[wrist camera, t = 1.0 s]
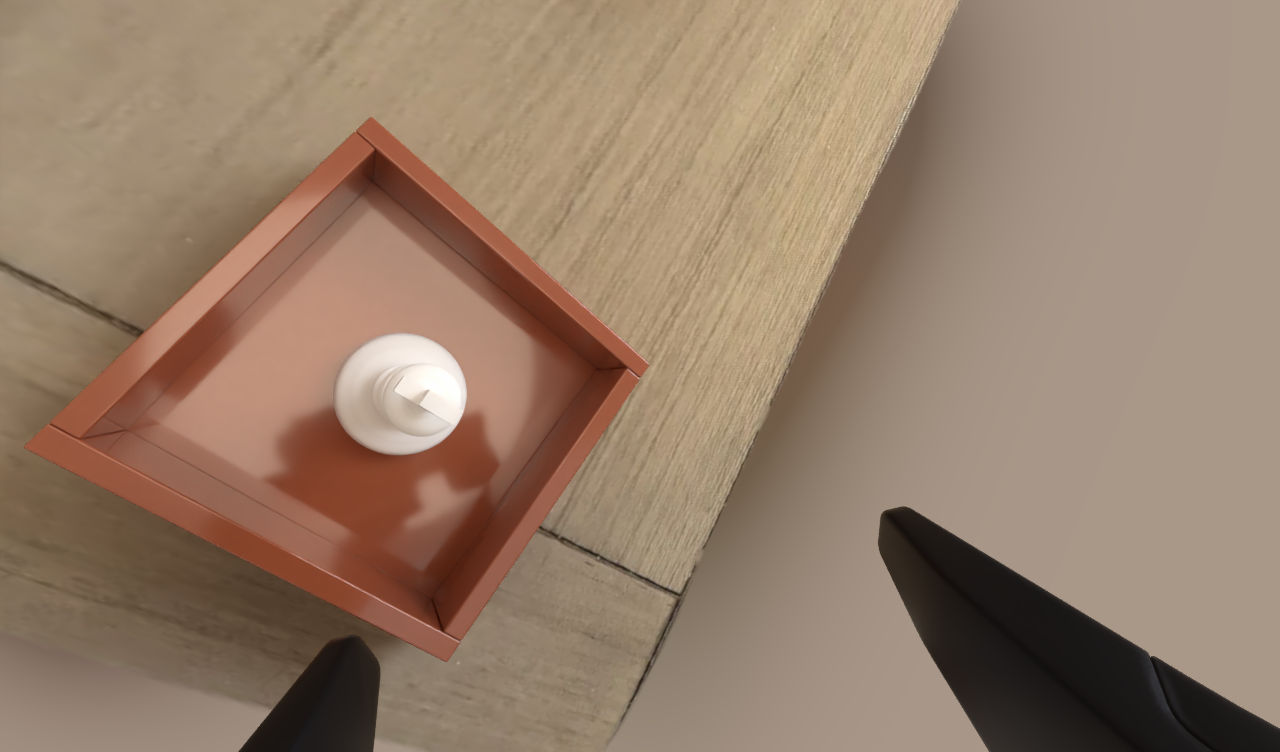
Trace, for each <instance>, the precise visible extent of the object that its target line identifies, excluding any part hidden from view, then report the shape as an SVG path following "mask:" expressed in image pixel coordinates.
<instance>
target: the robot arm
mask: <svg viewBox="0 0 1280 752" xmlns="http://www.w3.org/2000/svg"><path fill="white" fill-rule="evenodd" d="M878 546H879V551H880V554H881V556H882V559H883V560H884V563H885V565H886V567H887V569H888V571H889V573H890V575H891V577H892V579H893V582H894V583H895V586H896V588H897V590H898V592H899V594H900V596H901V598H902V600H903V602H904V605H905V607H906V609H907V611H908V613H909V615H910V617H911V619H912V621H913V623H914V626H915V628H916V630H917V632H918V633H919V635H920V637H921V639H922V641H923V643H924V645H925V647H926V648H927V650H928V652H929V653H930V655H931V657H932V658H933V660H934V662H935V663H936V665H937V667H938V668H939V670H940V672H941V673H942V675H943V677H944V678H945V680H946V681H947V683H948V685H949V686H950V688H951V690H952V691H953V693H954V695H955V696H956V698H957V699H958V701H959V703H960V705H961V706H962V708H963V709H964V711H965V713H966V714H967V716H968V718H969V719H970V721H971V723H972V724H973V726H974V727H975V729H976V731H977V732H978V734H979V736H980V737H981V739H982V741H983V742H984V744H985V746H986V747H987V749H988V750H989V752H1280V728H1278V727H1276V726H1274V725H1272V724H1270V723H1269V722H1267V721H1265V720H1263V719H1261V718H1260V717H1258V716H1256V715H1254V714H1252V713H1250V712H1249V711H1247V710H1245V709H1243V708H1241V707H1239V706H1237V705H1236V704H1234V703H1233V702H1231V701H1229V700H1227V699H1226V698H1224V697H1222V696H1221V695H1219V694H1217V693H1216V692H1214V691H1212V690H1210V689H1209V688H1207V687H1205V686H1204V685H1202V684H1200V683H1198V682H1197V681H1195V680H1193V679H1192V678H1190V677H1188V676H1187V675H1185V674H1183V673H1182V672H1180V671H1178V670H1177V669H1175V668H1173V667H1172V666H1170V665H1168V664H1167V663H1165V662H1163V661H1162V660H1160V659H1158V658H1157V657H1155V656H1151V657H1150V656H1149V654H1148V652H1146V651H1145V650H1143V649H1142V648H1140V647H1138V646H1137V645H1135V644H1133V643H1132V642H1130V641H1128V640H1127V639H1125V638H1123V637H1122V636H1120V635H1118V634H1117V633H1115V632H1113V631H1112V630H1110V629H1109V628H1107V627H1105V626H1103V625H1102V624H1100V623H1099V622H1097V621H1095V620H1094V619H1092V618H1091V617H1089V616H1087V615H1086V614H1084V613H1082V612H1081V611H1079V610H1077V609H1076V608H1074V607H1072V606H1071V605H1069V604H1067V603H1066V602H1064V601H1063V600H1061V599H1059V598H1057V597H1056V596H1054V595H1053V594H1051V593H1049V592H1048V591H1046V590H1044V589H1043V588H1041V587H1039V586H1038V585H1036V584H1035V583H1033V582H1031V581H1030V580H1028V579H1026V578H1025V577H1023V576H1021V575H1020V574H1018V573H1016V572H1015V571H1013V570H1011V569H1010V568H1008V567H1006V566H1005V565H1003V564H1001V563H1000V562H998V561H997V560H995V559H993V558H991V557H990V556H988V555H987V554H985V553H983V552H982V551H980V550H978V549H977V548H975V547H973V546H972V545H970V544H968V543H967V542H965V541H963V540H962V539H960V538H959V537H957V536H955V535H954V534H952V533H950V532H949V531H947V530H945V529H943V528H942V527H940V526H939V525H937V524H935V523H934V522H932V521H930V520H929V519H927V518H926V517H924V516H922V515H921V514H919V513H917V512H915V511H914V510H912V509H911V508H908V507H898V508H894V509H889V510H886V511H884V512H883V513H882V514H881V518H880V529H879V539H878ZM379 685H380V665H379V662H378V660H377V658H376V657H375V656H374V654H373V653H372V652H371V650H370V649H369V648H368V647H367V645H366V644H365V643H364V641H363V640H362V639H361V638H360V637H359V636H357V635H349V636H345V637H341V638H336V639H333V640H331V641H330V642H329V643H327V644H326V645H325V646H324V648H323V649H322V650H321V651H320V652H319V654H318V655H317V656H316V657H315V659H314V660H313V661H312V662H311V663H310V665H309V666H308V667H307V668H306V670H305V671H304V672H303V673H302V675H301V676H300V677H299V678H298V679H297V681H296V682H295V683H294V684H293V686H292V687H291V688H290V689H289V690H288V692H287V693H286V694H285V695H284V697H283V698H282V699H281V700H280V701H279V703H278V704H277V705H276V706H275V708H274V709H273V710H272V711H271V712H270V714H269V715H268V716H267V717H266V719H265V720H264V721H263V722H262V723H261V725H260V726H259V727H258V728H257V730H256V731H255V732H254V733H253V735H252V736H251V737H250V738H249V739H248V741H247V742H246V743H245V744H244V746H243V747H242V748H241V749H240V750H239V752H373V748H374V738H375V727H376V717H377V706H378V696H379Z"/></svg>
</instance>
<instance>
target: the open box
mask: <svg viewBox="0 0 1280 752" xmlns="http://www.w3.org/2000/svg"><path fill="white" fill-rule="evenodd" d="M392 333H409V334H415V335H420V336H423V337H426V338H428V339H430V340H433V341H434V342H436V343H438V344H439V345H441V346H442V347H444V348H445V349H446V350H447V351H448V352H449V353H450V354H451V355H452V356H453V357H454V359H455V360H456V361H457V363H458V364H459V366H460V368H461V370H462V372H463V375H464V378H465V382H466V389H467V398H466V405H465V409H464V412H463V415H462V417H461V419H460V421H459V423H458V424H457V426H456V427H455V429H454V430H453V431H452V432H451V433H450V434H449V435H448V436H447V437H446V438H445V439H444V440H443V441H441V442H440V443H439V444H437V445H435V446H434V447H432V448H430V449H427V450H425V451H422V452H419V453H415V454H410V455H388V454H382V453H379V452H375V451H373V450H370V449H368V448H366V447H364V446H362V445H361V444H359V443H358V442H357V441H355V440H354V439H353V438H352V437H351V436H350V435H349V434H348V433H347V432H346V431H345V429H344V428H343V427H342V425H341V423H340V422H339V420H338V417H337V415H336V412H335V409H334V404H333V386H334V381H335V378H336V375H337V372H338V370H339V368H340V366H341V365H342V363H343V362H344V360H345V359H346V358H347V357H348V355H349V354H350V353H351V352H352V351H353V350H355V349H356V348H357V347H358V346H360V345H361V344H363V343H365V342H366V341H368V340H370V339H373V338H375V337H378V336H381V335H386V334H392ZM648 366H649V363H648V362H647V361H646V360H645V359H644V358H643V357H641V356H640V355H639V354H638V353H637V352H636V351H635V350H634V349H632V348H631V347H630V346H629V345H628V344H627V343H626V342H625V341H623V340H622V339H621V338H620V337H619V336H618V335H617V334H616V333H614V332H613V331H612V330H611V329H610V328H609V327H608V326H607V325H605V324H604V323H603V322H602V321H601V320H600V319H599V318H598V317H596V316H595V315H594V314H593V313H592V312H591V311H590V310H589V309H587V308H586V307H585V306H584V305H583V304H582V303H581V302H580V301H578V300H577V299H576V298H575V297H574V296H573V295H572V294H571V293H569V292H568V291H567V290H566V289H565V288H564V287H563V286H562V285H560V284H559V283H558V282H557V281H556V280H555V279H554V278H553V277H551V276H550V275H549V274H548V273H547V272H546V271H545V270H544V269H542V268H541V267H540V266H539V265H538V264H537V263H536V262H535V261H533V260H532V259H531V258H530V257H529V256H528V255H527V254H526V253H524V252H523V251H522V250H521V249H520V248H519V247H518V246H517V245H515V244H514V243H513V242H512V241H511V240H510V239H509V238H508V237H506V236H505V235H504V234H503V233H502V232H501V231H500V230H499V229H497V228H496V227H495V226H494V225H493V224H492V223H491V222H490V221H488V220H487V219H486V218H485V217H484V216H483V215H482V214H481V213H479V212H478V211H477V210H476V209H475V208H474V207H473V206H472V205H470V204H469V203H468V202H467V201H466V200H465V199H464V198H463V197H461V196H460V195H459V194H458V193H457V192H456V191H455V190H454V189H452V188H451V187H450V186H449V185H448V184H447V183H446V182H445V181H443V180H442V179H441V178H440V177H439V176H438V175H437V174H436V173H434V172H433V171H432V170H431V169H430V168H429V167H428V166H427V165H425V164H424V163H423V162H422V161H421V160H420V159H419V158H418V157H416V156H415V155H414V154H413V153H412V152H411V151H410V150H409V149H407V148H406V147H405V146H404V145H403V144H402V143H401V142H400V141H398V140H397V139H396V138H395V137H394V136H393V135H392V134H391V133H389V132H388V131H387V130H386V129H385V128H384V127H383V126H382V125H380V124H379V123H378V122H377V121H376V120H375V119H374V118H372V117H370V118H368V119H367V120H366V121H365V122H364V123H363V124H362V125H361V126H360V127H359V128H358V129H357V130H356V132H354V133H352V134H351V135H350V136H349V137H348V138H347V139H346V140H345V141H344V142H343V143H342V144H341V145H340V146H339V147H338V148H337V149H336V150H335V151H333V152H332V153H331V154H330V155H329V156H328V157H327V158H326V159H325V160H324V161H323V162H322V163H321V164H320V165H319V166H318V167H317V168H316V169H315V170H314V171H312V172H311V173H310V174H309V175H308V176H307V177H306V178H305V179H304V180H303V181H302V182H301V183H300V184H299V185H298V186H297V187H296V188H295V189H294V190H293V191H291V192H290V193H289V194H288V195H287V196H286V197H285V198H284V199H283V200H282V201H281V202H280V203H279V204H278V205H277V206H276V207H275V208H274V209H273V210H272V211H270V212H269V213H268V214H267V215H266V216H265V217H264V218H263V219H262V220H261V221H260V222H259V223H258V224H257V225H256V226H255V227H254V228H253V229H252V230H251V231H249V232H248V233H247V234H246V235H245V236H244V237H243V238H242V239H241V240H240V241H239V242H238V243H237V244H236V245H235V246H234V247H233V248H232V249H231V250H230V251H228V252H227V253H226V254H225V255H224V256H223V257H222V258H221V259H220V260H219V261H218V262H217V263H216V264H215V265H214V266H213V267H212V268H211V269H210V270H209V271H207V272H206V273H205V274H204V275H203V276H202V277H201V278H200V279H199V280H198V281H197V282H196V283H195V284H194V285H193V286H192V287H191V288H190V289H189V290H188V291H186V292H185V293H184V294H183V295H182V296H181V297H180V298H179V299H178V300H177V301H176V302H175V303H174V304H173V305H172V306H171V307H170V308H169V309H168V310H167V311H165V312H164V313H163V314H162V315H161V316H160V317H159V318H158V319H157V320H156V321H155V322H154V323H153V324H152V325H151V326H150V327H149V328H148V329H147V330H146V331H144V332H143V333H142V334H141V335H140V336H139V337H138V338H137V339H136V340H135V341H134V342H133V343H132V344H131V345H130V346H129V347H128V348H127V349H126V350H125V351H123V352H122V353H121V354H120V355H119V356H118V357H117V358H116V359H115V360H114V361H113V362H112V363H111V364H110V365H109V366H108V367H107V368H106V369H105V370H104V371H102V372H101V373H100V374H99V375H98V376H97V377H96V378H95V379H94V380H93V381H92V382H91V383H90V384H89V385H88V386H87V387H86V388H85V389H84V390H83V391H81V392H80V393H79V394H78V395H77V396H76V397H75V398H74V399H73V400H72V401H71V402H70V403H69V404H68V405H67V406H66V407H65V408H64V409H63V410H62V411H60V412H59V413H58V414H57V415H56V416H55V417H54V418H53V419H52V420H51V421H50V423H51V424H47V425H46V426H45V427H43V428H42V429H41V430H40V431H39V432H38V433H37V434H36V435H35V436H34V437H33V438H32V439H31V440H30V441H29V442H28V443H27V444H26V445H25V446H24V448H25V449H27V450H29V451H31V452H33V453H35V454H37V455H39V456H41V457H43V458H45V459H47V460H49V461H50V462H52V463H54V464H56V465H58V466H60V467H62V468H64V469H66V470H68V471H70V472H72V473H74V474H76V475H78V476H80V477H82V478H84V479H86V480H88V481H90V482H92V483H94V484H96V485H98V486H100V487H102V488H104V489H106V490H108V491H110V492H112V493H114V494H116V495H118V496H119V497H121V498H123V499H125V500H127V501H129V502H131V503H133V504H135V505H137V506H139V507H141V508H143V509H145V510H147V511H149V512H151V513H153V514H155V515H157V516H159V517H161V518H163V519H165V520H167V521H169V522H171V523H173V524H175V525H177V526H179V527H181V528H183V529H185V530H187V531H188V532H190V533H192V534H194V535H196V536H198V537H200V538H202V539H204V540H206V541H208V542H210V543H212V544H214V545H216V546H218V547H220V548H222V549H224V550H226V551H228V552H230V553H232V554H234V555H236V556H238V557H240V558H242V559H244V560H246V561H248V562H250V563H252V564H254V565H255V566H257V567H259V568H261V569H263V570H265V571H267V572H269V573H271V574H273V575H275V576H277V577H279V578H281V579H283V580H285V581H287V582H289V583H291V584H293V585H295V586H297V587H299V588H301V589H303V590H305V591H307V592H309V593H311V594H313V595H315V596H317V597H319V598H321V599H323V600H324V601H326V602H328V603H330V604H332V605H334V606H336V607H338V608H340V609H342V610H344V611H346V612H348V613H350V614H352V615H354V616H356V617H358V618H360V619H362V620H364V621H366V622H368V623H370V624H372V625H374V626H376V627H378V628H380V629H382V630H384V631H386V632H388V633H390V634H392V635H393V636H395V637H397V638H399V639H401V640H403V641H405V642H407V643H409V644H411V645H413V646H415V647H417V648H419V649H421V650H423V651H425V652H427V653H429V654H431V655H433V656H435V657H437V658H439V659H441V660H443V661H445V662H447V661H448V660H449V659H450V657H451V656H452V654H453V653H454V651H455V650H456V648H457V647H458V645H459V644H460V641H461V640H462V639H463V638H464V636H465V635H466V633H467V632H468V630H469V629H470V627H471V626H472V624H473V623H474V621H475V620H476V619H477V617H478V616H479V614H480V613H481V611H482V610H483V608H484V607H485V605H486V604H487V602H488V601H489V599H490V598H491V597H492V595H493V594H494V592H495V591H496V589H497V588H498V586H499V585H500V583H501V582H502V580H503V579H504V577H505V576H506V575H507V573H508V572H509V570H510V569H511V567H512V566H513V564H514V563H515V561H516V560H517V558H518V557H519V555H520V554H521V553H522V551H523V550H524V548H525V547H526V545H527V544H528V542H529V541H530V539H531V538H532V536H533V535H534V533H535V532H536V531H537V529H538V528H539V526H540V525H541V523H542V522H543V520H544V519H545V517H546V516H547V514H548V513H549V511H550V510H551V509H552V507H553V506H554V504H555V503H556V501H557V500H558V498H559V497H560V495H561V494H562V492H563V491H564V490H565V488H566V487H567V485H568V484H569V482H570V481H571V479H572V478H573V476H574V475H575V473H576V472H577V470H578V469H579V468H580V466H581V465H582V463H583V462H584V460H585V459H586V457H587V456H588V454H589V453H590V451H591V450H592V448H593V447H594V446H595V444H596V443H597V441H598V440H599V438H600V437H601V435H602V434H603V432H604V431H605V429H606V428H607V426H608V425H609V424H610V422H611V421H612V419H613V418H614V416H615V415H616V413H617V412H618V410H619V409H620V407H621V406H622V404H623V403H624V402H625V400H626V399H627V397H628V396H629V394H630V393H631V391H632V390H633V388H634V387H635V385H636V384H637V382H638V381H639V378H640V377H641V376H642V375H643V373H644V372H645V371H646V369H647V368H648Z"/></svg>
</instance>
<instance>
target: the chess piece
mask: <svg viewBox="0 0 1280 752" xmlns="http://www.w3.org/2000/svg"><path fill="white" fill-rule="evenodd" d="M466 398H467V389H466V382H465V378H464V375H463V372H462V370H461V368H460V366H459V364H458V363H457V361H456V360H455V359H454V357H453V356H452V355H451V354H450V353H449V352H448V351H447V350H446V349H445V348H444V347H442V346H441V345H439V344H438V343H436V342H434V341H433V340H430V339H428V338H426V337H423V336H420V335H415V334H409V333H392V334H386V335H381V336H378V337H375V338H373V339H370V340H368V341H366V342H365V343H363V344H361V345H360V346H358V347H357V348H356V349H355V350H353V351H352V352H351V353H350V354H349V355H348V357H347V358H346V359H345V360H344V362H343V363H342V365H341V366H340V368H339V370H338V372H337V375H336V378H335V381H334V386H333V404H334V409H335V412H336V415H337V417H338V420H339V422H340V423H341V425H342V427H343V428H344V429H345V431H346V432H347V433H348V434H349V435H350V436H351V437H352V438H353V439H354V440H355V441H357V442H358V443H359V444H361V445H362V446H364V447H366V448H368V449H370V450H373V451H375V452H379V453H382V454H388V455H410V454H415V453H419V452H422V451H425V450H427V449H430V448H432V447H434V446H435V445H437V444H439V443H440V442H441V441H443V440H444V439H445V438H446V437H447V436H448V435H449V434H450V433H451V432H452V431H453V430H454V429H455V427H456V426H457V424H458V423H459V421H460V419H461V417H462V415H463V412H464V409H465V405H466Z"/></svg>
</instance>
